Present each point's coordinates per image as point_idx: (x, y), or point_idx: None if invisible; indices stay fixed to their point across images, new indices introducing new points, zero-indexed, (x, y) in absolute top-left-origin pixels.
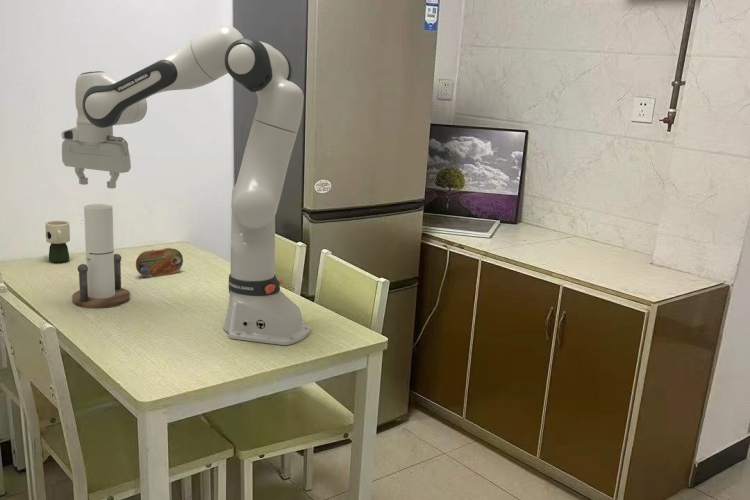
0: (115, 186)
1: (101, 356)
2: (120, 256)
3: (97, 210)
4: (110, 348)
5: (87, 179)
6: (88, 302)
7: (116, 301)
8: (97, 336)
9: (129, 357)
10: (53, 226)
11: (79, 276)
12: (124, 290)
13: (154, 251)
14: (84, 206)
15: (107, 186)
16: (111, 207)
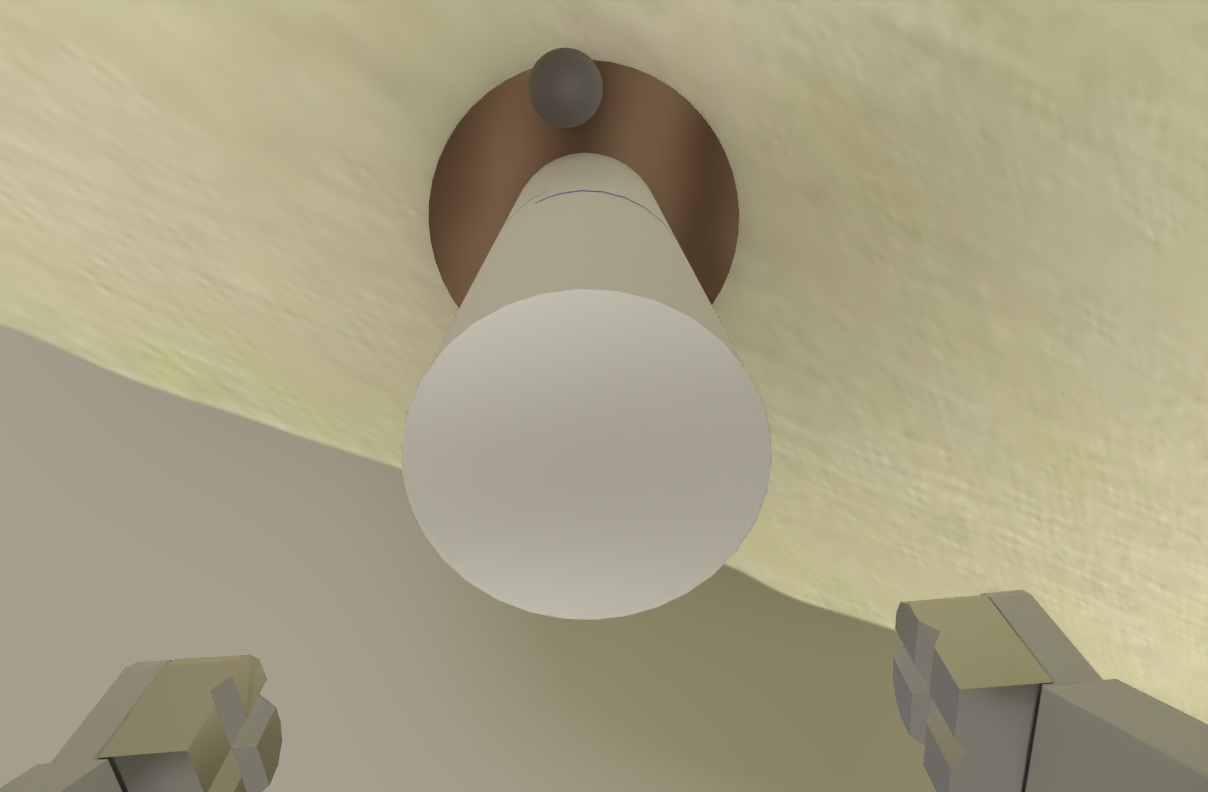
0: (1030, 609)
1: None
2: (594, 73)
3: (707, 570)
4: (1039, 602)
5: (206, 725)
6: None
7: (731, 257)
8: (920, 555)
9: (1149, 619)
10: None
11: None
12: (633, 88)
13: None
14: (455, 566)
15: (914, 721)
16: (757, 392)
